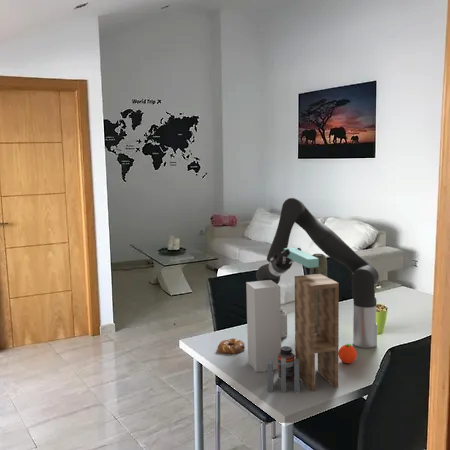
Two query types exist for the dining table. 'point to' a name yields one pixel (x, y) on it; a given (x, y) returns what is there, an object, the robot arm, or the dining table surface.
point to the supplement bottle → (286, 353)
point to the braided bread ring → (231, 346)
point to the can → (283, 323)
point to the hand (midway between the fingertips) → (294, 250)
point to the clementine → (347, 353)
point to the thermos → (319, 270)
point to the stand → (326, 328)
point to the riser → (263, 323)
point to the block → (302, 258)
